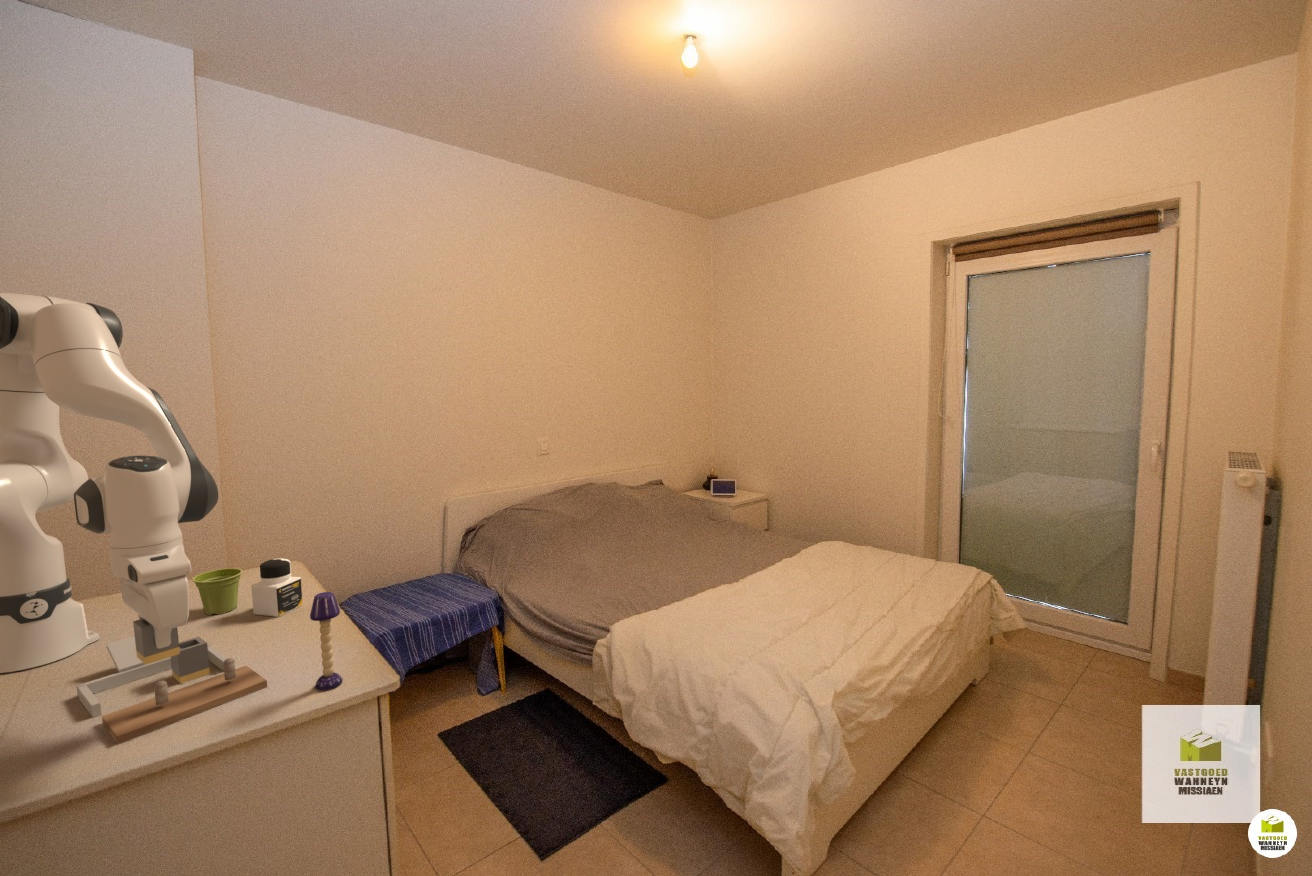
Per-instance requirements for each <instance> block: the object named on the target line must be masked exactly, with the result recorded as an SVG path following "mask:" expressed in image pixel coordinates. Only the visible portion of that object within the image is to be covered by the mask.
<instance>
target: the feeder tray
mask: <svg viewBox="0 0 1312 876" xmlns="http://www.w3.org/2000/svg"><path fill="white" fill-rule="evenodd" d="M207 646H208V657H209V662H211V663H212V664H214V665H215V666H216V667H217V668H219V669H220V670H221V671H222V672H224V665H223V663H224V661H225V660H226V659H227V658H228V657H227V656H226V655H224V654H223V653H221V652H220V651H219V650H217V648H214V647H213V646H212V645H210V644H207ZM106 650H107V651H108V654H109V656H110V657H111V659H112V662H113V664H114V666H115V668H116V671H117V672H116V673H112V674H109V675H107V676H102V677H100V678H96V679H93V680H89V681H87V682H84V683H81V684H77V685H76V693H77V697H78V699H79V700H80V702H81V703H82V705H83V706H84V707H85V708H86V710H87V711H88V712H89V714H90V715H91V717H92V718H96V717H98V716H101V715H102V708H101V707H102V706H101V701H100V700H98V698H97V696H95V694H96V693H99V692H103V691H106V690H109V689H112V688H115V687H118V686H122V685H125V684H128V683H131V682H134V681H137V680H140V679H144V678H146V677H150V676H153V675H155V674H158V673H161V672H166V671H167V670H170V669H171V670H172V666H171V657H168V658H165V659H162V660H159V661H156V662H152V663H149V664H146V665H145V664H144V663H143V662H142V661H141V660H140V659H139V658H138V657H137V653H136V644H135V635H134V636H130V637H127V638H126V637H125V638H123V639H120V640H116V641H112V642H108V643H106Z"/></svg>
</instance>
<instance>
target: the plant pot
mask: <svg viewBox="0 0 1312 876" xmlns="http://www.w3.org/2000/svg"><path fill="white" fill-rule="evenodd" d="M242 573H243V570H242V568H237V567H228V568H220V569H213V570H209V571H205V572H203V573H199V574H197V575H195V576H193V578H192V582H193V583H195V586H196V588H197V589H198V592H199V597H200V600H201V602H202V603H201V604H202V607H203V610H204V613H205V614H206V615H214V614H216V615H217V614H218V615H222V614H225V613H228V612H231V611H233V610H235V609H236V608H237V607H238V597H239V585H240V584H239V582H240V579H241V575H243V574H242Z"/></svg>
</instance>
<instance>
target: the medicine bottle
mask: <svg viewBox="0 0 1312 876" xmlns="http://www.w3.org/2000/svg"><path fill="white" fill-rule="evenodd" d="M291 564H292V563H291V561H290V559H288V558H287V559H286V558H272V559H269V560H266V561H264V562H262V563H260V565H259V573H260V574H259V575H260V576H259V577H260V581H258V582H256V583H254V584H251V597H252V598H251V599H252V611H253V615H257V616H267V617H276V618H277V617H282V616H283V615H285V614H288V613H290V612H292V611H294V610H296V609H299V608H300V607H302V606H303V590H302V578H301V577H300V576H292V566H291Z"/></svg>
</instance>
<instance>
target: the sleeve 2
mask: <svg viewBox="0 0 1312 876" xmlns="http://www.w3.org/2000/svg"><path fill="white" fill-rule="evenodd" d="M207 645H208V642H207V641H205V640H204V639H203V638H201V637H200V636H196V637H193V638H189V639H186V640H183V641H179V649H180V654H178V655H175V656H171V666H172V668H171V674H172V675H171V676H172V677H173V679H175V681H177V682H178V683H179V684H184V683H186V682H189V681H192V680H196V679H198V678H201V677H204V676H208V675H210V674H211V671H210V660H209V657H208V646H207Z"/></svg>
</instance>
